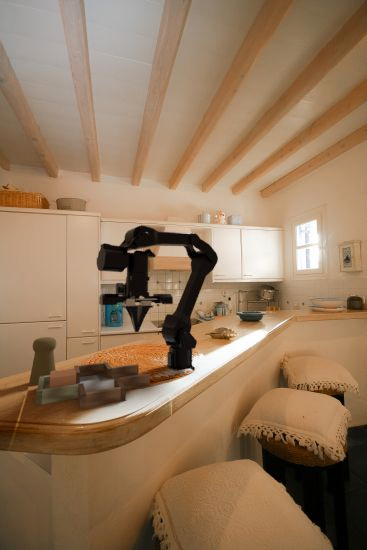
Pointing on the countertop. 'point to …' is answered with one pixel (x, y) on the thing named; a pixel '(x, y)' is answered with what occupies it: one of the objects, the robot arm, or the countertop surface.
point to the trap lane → (94, 385)
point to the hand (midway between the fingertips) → (136, 331)
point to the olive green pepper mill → (42, 359)
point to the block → (62, 378)
